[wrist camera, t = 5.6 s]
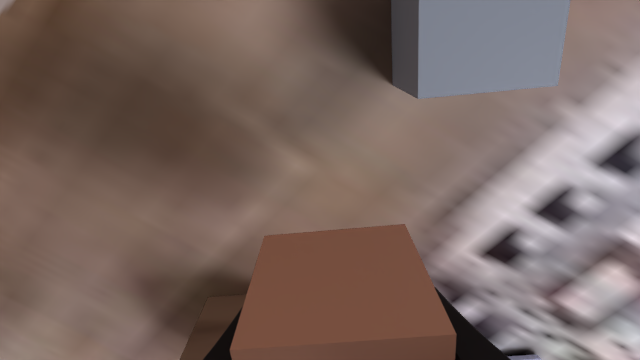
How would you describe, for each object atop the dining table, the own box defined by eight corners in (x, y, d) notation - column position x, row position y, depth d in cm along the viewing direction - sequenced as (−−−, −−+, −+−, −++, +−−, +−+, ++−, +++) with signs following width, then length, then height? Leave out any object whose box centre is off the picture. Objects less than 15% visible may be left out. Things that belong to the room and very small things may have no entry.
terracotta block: (405, 333, 14) (448, 477, 9) (283, 342, 14) (264, 487, 9) (404, 224, 12) (456, 334, 7) (264, 235, 12) (229, 350, 8)
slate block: (493, 75, 17) (557, 85, 12) (392, 84, 17) (418, 98, 13) (503, -42, 15) (582, -81, 11) (389, -30, 15) (419, -63, 11)
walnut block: (295, 349, 24) (289, 423, 19) (223, 354, 24) (199, 429, 19) (285, 290, 22) (276, 356, 17) (208, 296, 22) (178, 363, 17)
